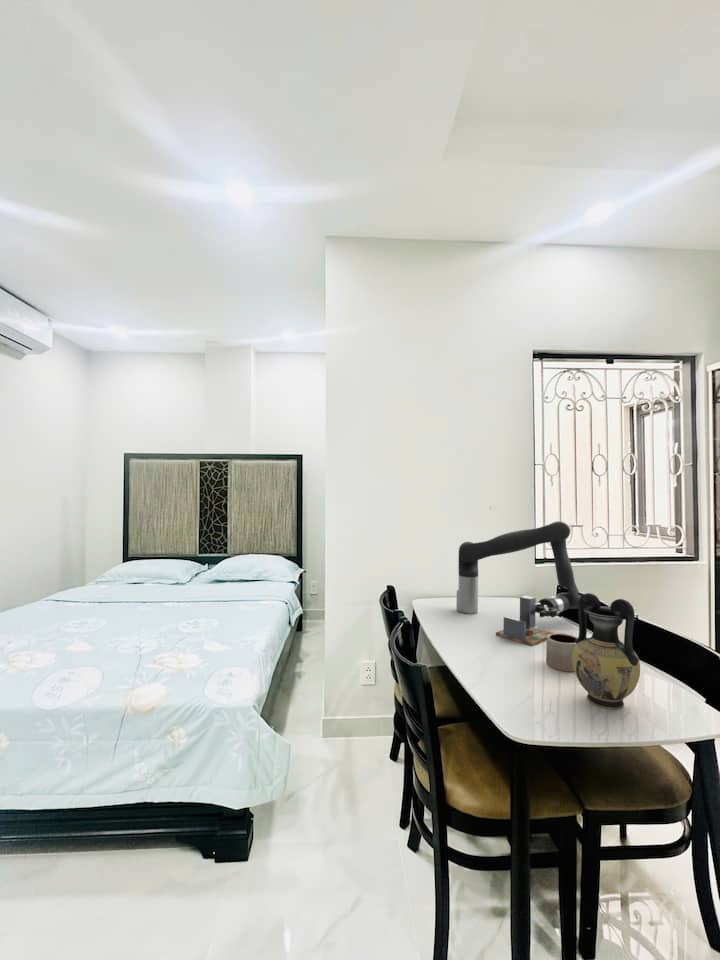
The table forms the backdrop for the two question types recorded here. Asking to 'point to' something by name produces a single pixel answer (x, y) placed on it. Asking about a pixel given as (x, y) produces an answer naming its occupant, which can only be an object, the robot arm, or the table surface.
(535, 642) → the mottled brown square slab
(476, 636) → the table surface
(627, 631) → the amphora
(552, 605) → the robot arm
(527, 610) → the block
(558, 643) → the planter
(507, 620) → the grey rectangular panel
